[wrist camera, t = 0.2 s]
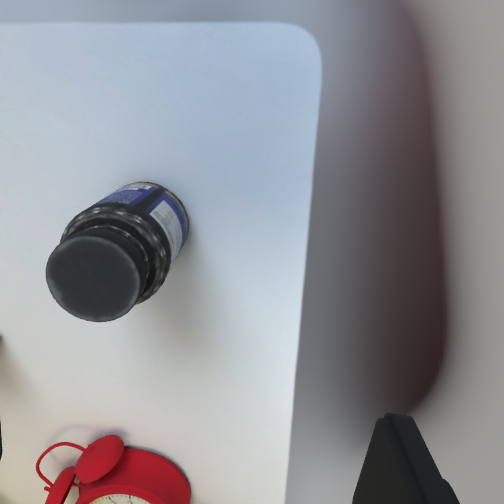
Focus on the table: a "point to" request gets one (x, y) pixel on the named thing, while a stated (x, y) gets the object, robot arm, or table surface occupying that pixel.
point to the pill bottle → (117, 252)
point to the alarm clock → (118, 476)
